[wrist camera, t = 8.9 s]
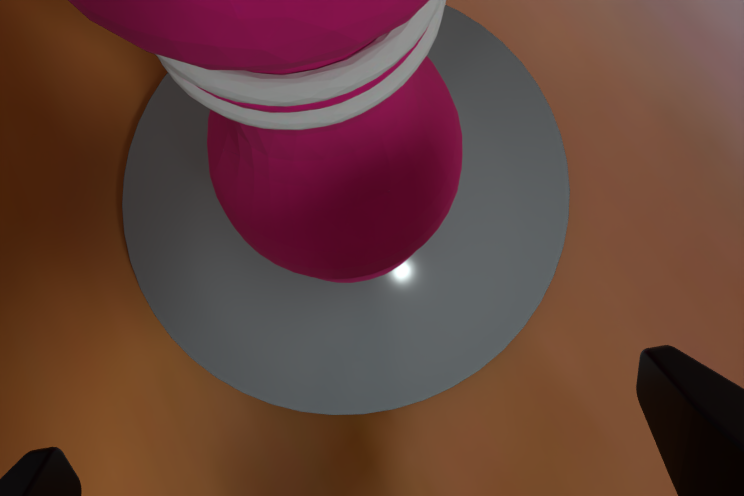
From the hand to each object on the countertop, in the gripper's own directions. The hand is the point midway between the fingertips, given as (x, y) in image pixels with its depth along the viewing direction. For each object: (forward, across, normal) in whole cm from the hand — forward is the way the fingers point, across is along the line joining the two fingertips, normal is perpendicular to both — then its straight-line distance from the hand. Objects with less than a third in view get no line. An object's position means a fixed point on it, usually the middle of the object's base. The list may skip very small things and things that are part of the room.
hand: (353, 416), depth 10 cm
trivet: (+14, 0, +3) cm, 15 cm away
